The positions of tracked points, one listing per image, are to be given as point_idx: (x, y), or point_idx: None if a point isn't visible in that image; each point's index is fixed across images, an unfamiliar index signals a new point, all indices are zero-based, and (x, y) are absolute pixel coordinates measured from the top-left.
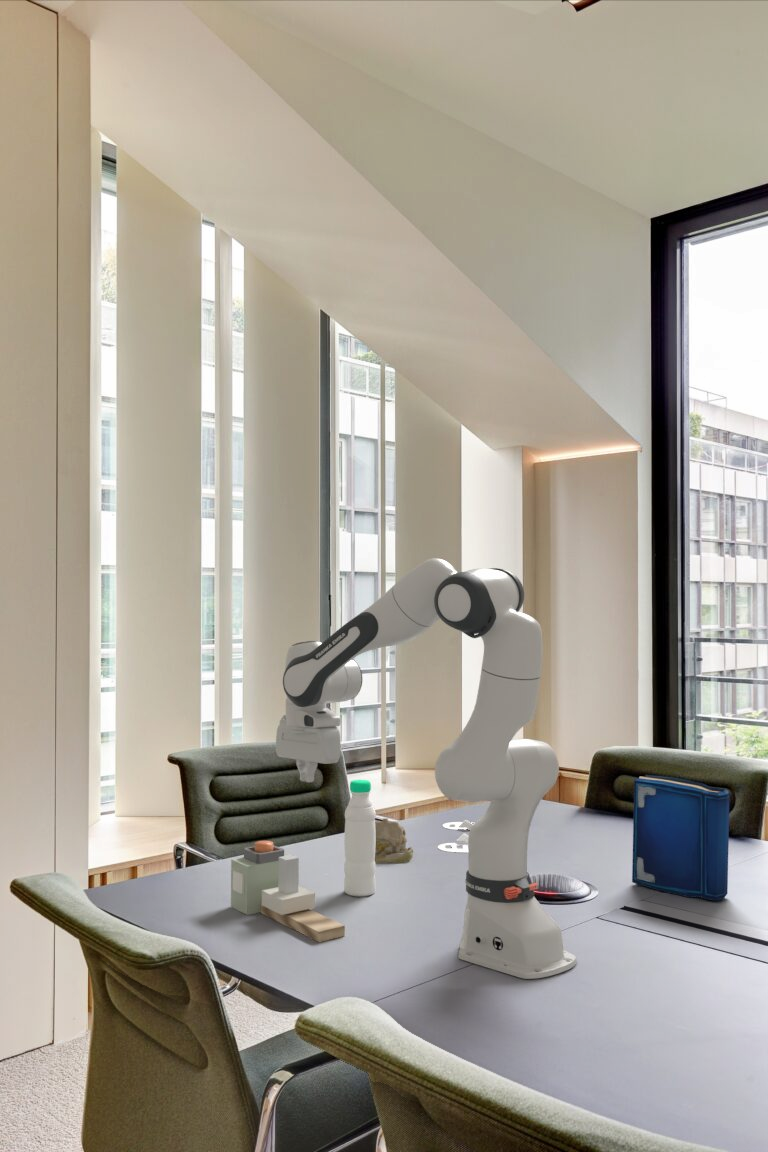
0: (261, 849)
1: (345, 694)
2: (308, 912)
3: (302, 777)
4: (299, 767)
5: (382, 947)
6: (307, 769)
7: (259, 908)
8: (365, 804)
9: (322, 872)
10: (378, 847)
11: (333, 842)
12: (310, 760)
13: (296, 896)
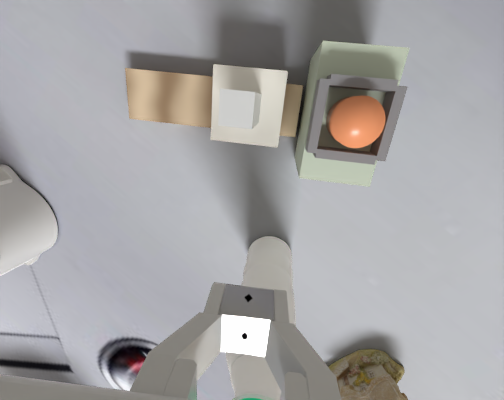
0: (342, 101)
1: None
2: (209, 116)
3: (258, 298)
4: (293, 354)
5: (78, 126)
6: (183, 335)
7: (306, 86)
8: (231, 373)
9: (382, 282)
10: (365, 375)
11: (479, 383)
12: (40, 387)
13: (214, 100)
